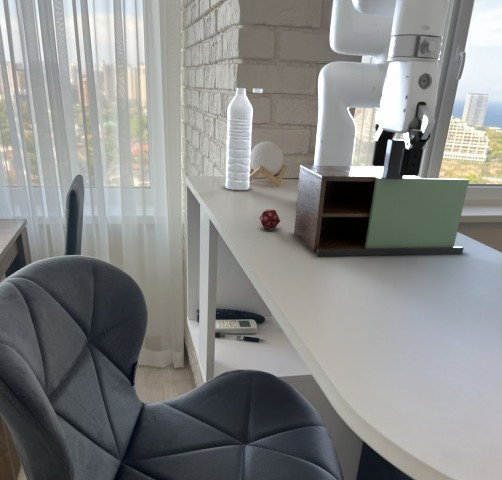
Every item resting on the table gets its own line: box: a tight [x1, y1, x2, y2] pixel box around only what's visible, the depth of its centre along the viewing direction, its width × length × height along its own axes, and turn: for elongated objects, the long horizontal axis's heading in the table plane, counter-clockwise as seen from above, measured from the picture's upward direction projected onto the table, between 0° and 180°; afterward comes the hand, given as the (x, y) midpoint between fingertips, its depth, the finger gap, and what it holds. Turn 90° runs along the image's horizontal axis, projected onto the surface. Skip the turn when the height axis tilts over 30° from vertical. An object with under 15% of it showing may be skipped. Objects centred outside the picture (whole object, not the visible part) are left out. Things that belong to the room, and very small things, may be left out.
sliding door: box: [365, 138, 470, 248], centre depth 87 cm, size 2×17×19 cm, turn 103°
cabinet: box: [293, 164, 465, 257], centre depth 92 cm, size 14×28×13 cm, turn 102°
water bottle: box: [225, 87, 264, 191], centre depth 134 cm, size 9×6×25 cm
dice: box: [259, 209, 281, 230], centre depth 100 cm, size 4×4×4 cm
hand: (393, 170), depth 83 cm, fingers open, 9 cm apart
